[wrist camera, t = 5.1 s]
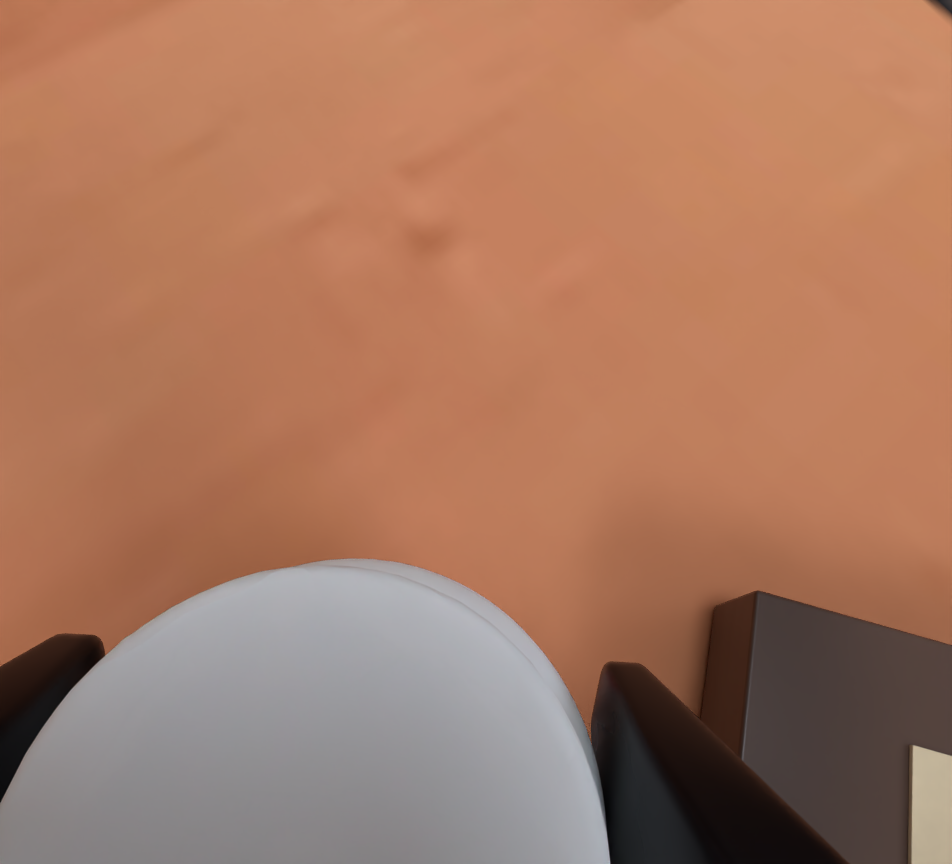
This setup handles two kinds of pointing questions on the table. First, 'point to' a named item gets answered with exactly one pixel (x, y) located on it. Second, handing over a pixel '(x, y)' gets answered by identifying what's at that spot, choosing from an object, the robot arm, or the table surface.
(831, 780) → the shelf board
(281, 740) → the pill bottle
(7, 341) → the table surface
